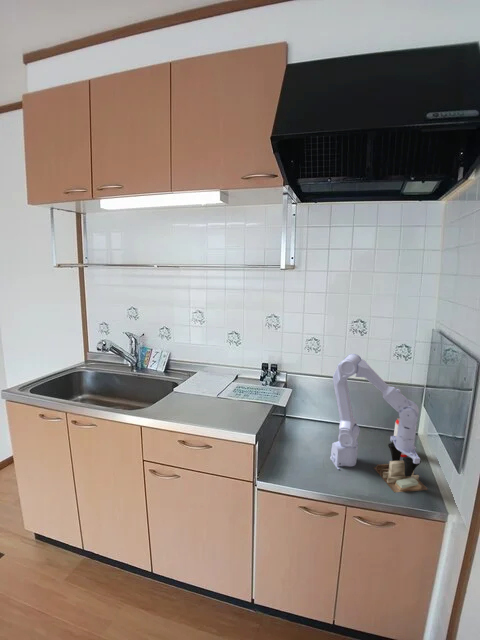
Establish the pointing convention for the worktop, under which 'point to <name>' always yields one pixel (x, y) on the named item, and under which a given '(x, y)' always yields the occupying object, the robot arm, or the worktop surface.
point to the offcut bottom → (409, 487)
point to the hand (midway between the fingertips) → (401, 469)
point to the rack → (395, 478)
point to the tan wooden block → (396, 468)
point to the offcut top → (407, 482)
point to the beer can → (397, 432)
